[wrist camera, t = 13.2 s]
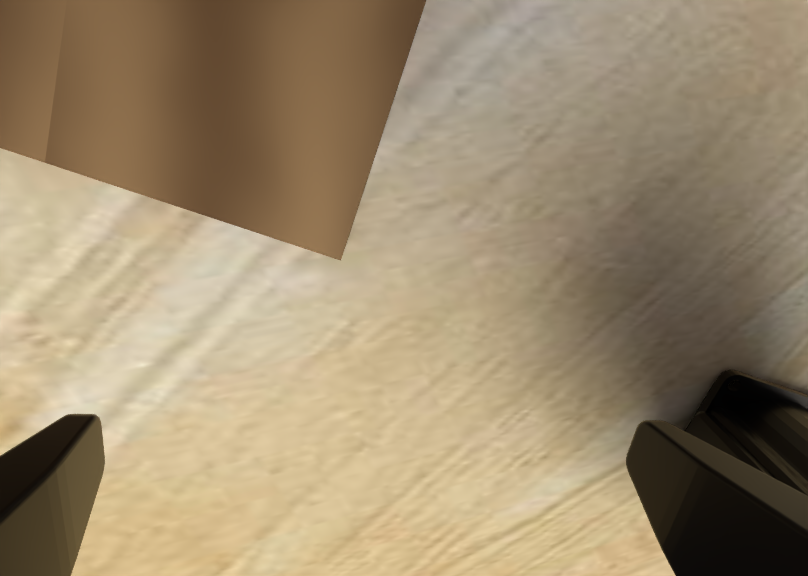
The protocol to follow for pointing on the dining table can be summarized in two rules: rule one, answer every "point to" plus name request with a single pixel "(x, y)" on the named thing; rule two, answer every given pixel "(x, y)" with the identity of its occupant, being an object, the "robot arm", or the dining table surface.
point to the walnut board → (211, 102)
